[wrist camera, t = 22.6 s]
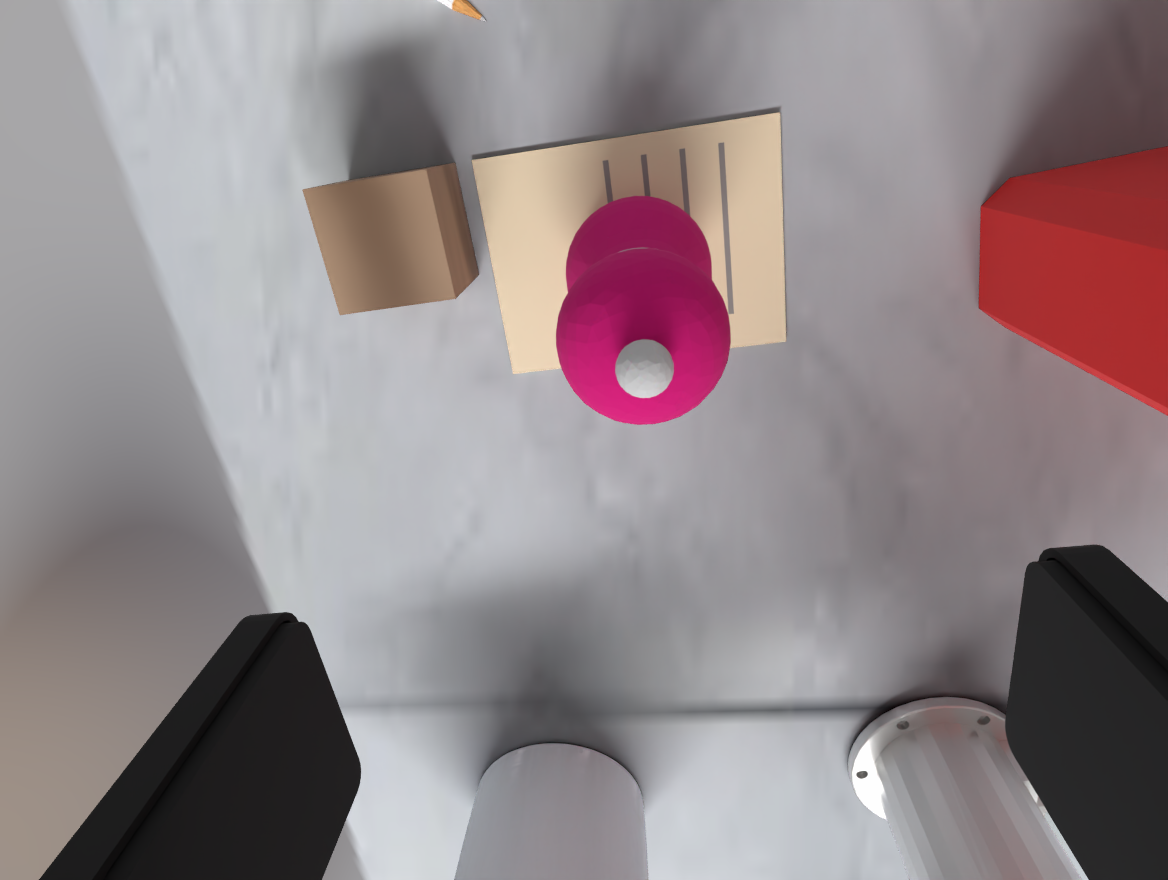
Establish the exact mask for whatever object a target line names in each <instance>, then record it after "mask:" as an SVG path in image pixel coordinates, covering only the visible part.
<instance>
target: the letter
mask: <svg viewBox="0 0 1168 880" xmlns="http://www.w3.org/2000/svg"><path fill="white" fill-rule="evenodd" d="M472 164H473V170H474V175H475V180H476V185H477V190H478V195H479V200H480V206H481V211H482V216H483V221H484V226H485V231H486V236H487V242H488V247H489V252H490V257H491V262H492V267H493V273H494V278H495V283H496V288H497V293H498V298H499V303H500V309H501V314H502V319H503V324H504V329H505V334H506V339H507V345H508V350H509V355H510V360H511V365H512V370H513V374H517V373H526V372H534V371H543V370H551V369H559V368H561V366H560V363H559V358H558V353H557V348H556V328H557V321H558V315H559V312H560V309H561V306H562V303H563V301H564V299H565V297H566V295H567V294H568V291H567V282H566V260H567V256H568V252H569V247H570V245H571V243H572V240H573V238H574V236H575V234H576V232H577V231H578V229H579V228H580V226H581V225H582V224H583V223H584V221H585V220H586V219H587V218H588V217H589V216H590V215H591V214H593V213H594V212H595V211H596V210H598V209H599V208H600V207H602V206H604V205H606V204H608V203H610V202H612V201H615V200H618V199H621V198H625V197H631V196H650V197H656V198H660V199H663V200H666V201H669V202H670V203H672V204H674V205H676V206H678V207H680V208H681V209H682V210H683V211H685V212H686V213H687V214H689V216H690V217H691V218H692V219H693V220H694V221H695V222H696V223H697V225H698V226H699V228H700V229H701V231H702V232H703V234H704V236H705V239H706V241H707V243H708V247H709V251H710V254H711V262H712V281H713V282H714V284H715V286H716V287H717V289H718V291H719V292H720V294H721V296H722V298H723V300H724V303H725V306H726V309H727V311H728V315H729V322H730V332H731V344H730V348H735V347H744V346H752V345H760V344H769V343H777V342H785V341H786V314H785V277H784V240H783V202H782V165H781V128H780V112H778V113H772V114H765V115H759V116H752V117H746V118H739V119H733V120H727V121H720V122H714V123H707V124H701V125H694V126H688V127H681V128H675V129H669V130H662V131H656V132H649V133H643V134H636V135H630V136H624V137H617V138H611V139H604V140H598V141H591V142H585V143H578V144H572V145H566V146H559V147H553V148H546V149H540V150H533V151H527V152H521V153H514V154H508V155H501V156H495V157H488V158H482V159H475V160H472Z"/></svg>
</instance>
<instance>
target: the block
mask: <svg viewBox="0 0 1168 880" xmlns="http://www.w3.org/2000/svg"><path fill="white" fill-rule="evenodd" d="M303 193H304V196H305V200H306V203H307V206H308V210H309V213H310V216H311V220H312V223H313V227H314V230H315V233H316V237H317V240H318V243H319V247H320V250H321V253H322V257H323V260H324V263H325V267H326V270H327V273H328V277H329V280H330V284H331V287H332V290H333V294H334V297H335V300H336V304H337V307H338V310H339V314H340V315H344V314H351V313H358V312H365V311H372V310H379V309H386V308H393V307H400V306H407V305H415V304H422V303H429V302H436V301H443V300H450V299H456V298H457V297H458V296H459V295H460V294H461V293H462V292H463V291H464V290H465V289H466V288H467V287H468V286H469V285H470V284H471V283H472V281H473V280H474V279H475V278H476V277H477V276H478V275H479V272H478V268H477V263H476V258H475V253H474V249H473V244H472V239H471V234H470V230H469V225H468V220H467V215H466V211H465V206H464V201H463V197H462V192H461V187H460V182H459V178H458V173H457V168H456V163H450V164H444V165H438V166H431V167H425V168H419V169H413V170H407V171H401V172H395V173H389V174H383V175H377V176H371V177H365V178H359V179H353V180H347V181H342V182H337V183H332V184H327V185H322V186H318V187H313V188H308V189H303Z"/></svg>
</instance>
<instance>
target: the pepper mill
mask: <svg viewBox="0 0 1168 880" xmlns="http://www.w3.org/2000/svg"><path fill="white" fill-rule="evenodd" d="M566 282H567V291H568V294H567V295H566V297H565V299H564V301H563V303H562V306H561V309H560V312H559V315H558V321H557V328H556V348H557V353H558V358H559V363H560V366H561V368H562V371H563V373H564V375H565V377H566V379H567V381H568V382H569V384H570V386H571V387H572V389H573V390H574V392H575V393H576V394H577V395H578V396H579V397H580V399H581V400H582V401H583V402H584V403H585V404H587V405H588V406H589V407H591V408H592V409H594V410H595V411H597V412H598V413H600V414H602V415H604V416H606V417H608V418H611V419H613V420H615V421H619V422H623V423H630V424H637V425H642V424H656V423H661V422H665V421H669V420H671V419H674V418H677V417H680V416H682V415H683V414H685V413H687V412H688V411H690V410H692V409H693V408H695V407H696V406H698V405H699V404H700V403H701V402H702V401H703V400H704V399H705V397H706V396H707V395H708V394H709V393H710V392H711V391H712V390H713V389H714V387H715V386H716V384H717V383H718V381H719V379H720V378H721V376H722V374H723V371H724V369H725V366H726V364H727V361H728V355H729V350H730V344H731V332H730V322H729V315H728V311H727V309H726V306H725V303H724V300H723V298H722V296H721V294H720V292H719V291H718V289H717V287H716V286H715V284H714V282H713V281H712V262H711V254H710V251H709V247H708V243H707V241H706V239H705V236H704V234H703V232H702V231H701V229H700V228H699V226H698V225H697V223H696V222H695V221H694V220H693V219H692V218H691V217H690V216H689V214H687V213H686V212H685V211H683V210H682V209H681V208H680V207H678V206H676V205H674V204H672V203H670V202H669V201H666V200H663V199H660V198H656V197H650V196H631V197H625V198H621V199H618V200H615V201H612V202H610V203H608V204H606V205H604V206H602V207H600V208H599V209H598V210H596V211H595V212H594V213H593V214H591V215H590V216H589V217H588V218H587V219H586V220H585V221H584V223H583V224H582V225H581V226H580V228H579V229H578V231H577V232H576V234H575V236H574V238H573V240H572V243H571V245H570V247H569V252H568V256H567V260H566Z"/></svg>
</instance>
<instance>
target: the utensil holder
mask: <svg viewBox="0 0 1168 880" xmlns="http://www.w3.org/2000/svg"><path fill="white" fill-rule="evenodd" d="M454 880H648V861H647V844H646V829H645V816H644V804H643V798H642V794H641V791H640V788H639V786H638V784H637V783H636V781H635V780H634V778H633V777H632V776H631V774H630V773H629V772H628V771H627V770H626V769H625V768H624V767H622V766H621V765H620V764H619V763H617V762H616V761H614V760H613V759H611V758H609V757H608V756H606V755H604V754H602V753H599V752H597V751H595V750H592V749H589V748H585V747H581V746H576V745H570V744H560V743H545V744H536V745H530V746H527V747H523V748H519V749H516V750H514V751H511V752H509V753H507V754H505V755H503V756H502V757H500V758H499V759H498V760H496V761H495V762H494V763H493V764H492V765H491V766H490V767H489V768H488V769H487V770H486V772H485V773H484V775H483V776H482V779H481V781H480V783H479V786H478V790H477V793H476V797H475V801H474V804H473V808H472V812H471V816H470V819H469V823H468V827H467V831H466V834H465V838H464V842H463V846H462V850H461V854H460V858H459V862H458V866H457V870H456V875H455V879H454Z"/></svg>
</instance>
